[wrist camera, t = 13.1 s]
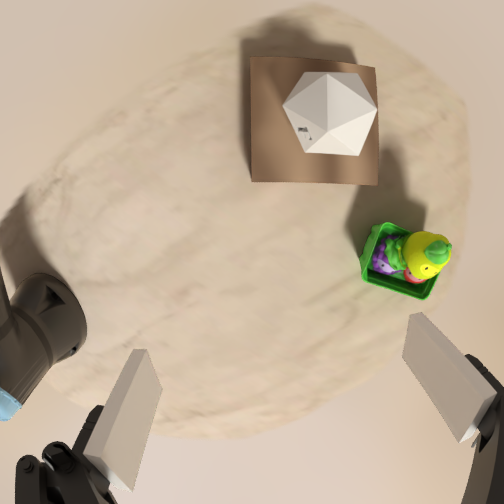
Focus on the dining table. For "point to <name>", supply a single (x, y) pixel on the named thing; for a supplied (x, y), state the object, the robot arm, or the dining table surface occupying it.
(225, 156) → the dining table surface
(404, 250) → the fruit basket
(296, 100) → the die
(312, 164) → the walnut block
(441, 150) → the dining table surface
